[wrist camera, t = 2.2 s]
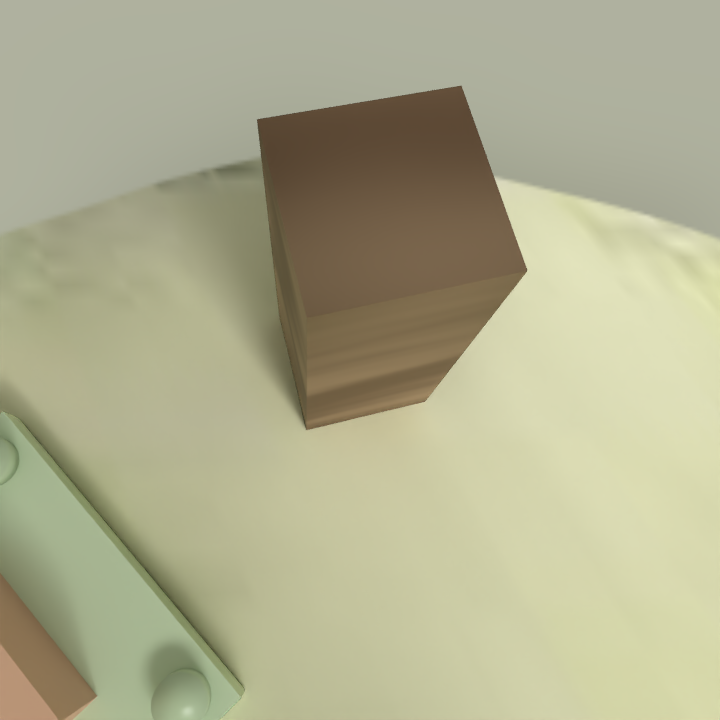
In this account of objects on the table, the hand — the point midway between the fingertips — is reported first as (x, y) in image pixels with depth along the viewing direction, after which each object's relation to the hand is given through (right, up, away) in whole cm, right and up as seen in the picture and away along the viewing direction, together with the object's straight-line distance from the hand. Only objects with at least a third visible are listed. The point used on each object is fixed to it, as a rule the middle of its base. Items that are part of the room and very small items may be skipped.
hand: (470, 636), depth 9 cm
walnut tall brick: (-2, +4, +15) cm, 16 cm away
